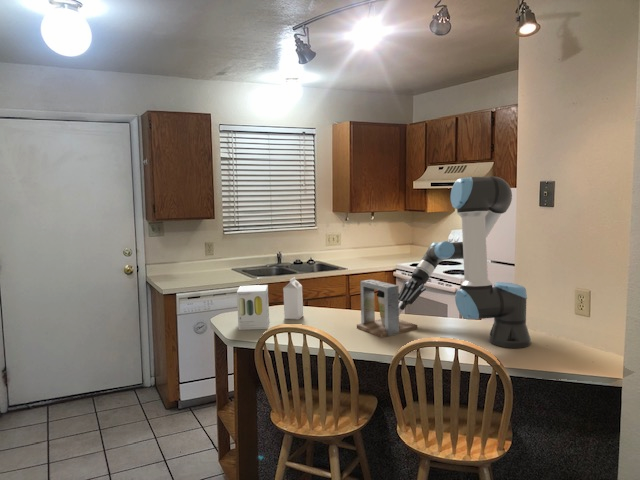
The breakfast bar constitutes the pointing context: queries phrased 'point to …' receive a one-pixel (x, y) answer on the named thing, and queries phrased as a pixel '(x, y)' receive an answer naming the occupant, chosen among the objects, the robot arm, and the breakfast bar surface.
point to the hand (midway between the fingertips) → (395, 314)
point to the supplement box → (253, 307)
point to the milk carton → (293, 300)
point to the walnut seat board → (379, 329)
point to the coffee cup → (381, 306)
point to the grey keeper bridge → (390, 304)
